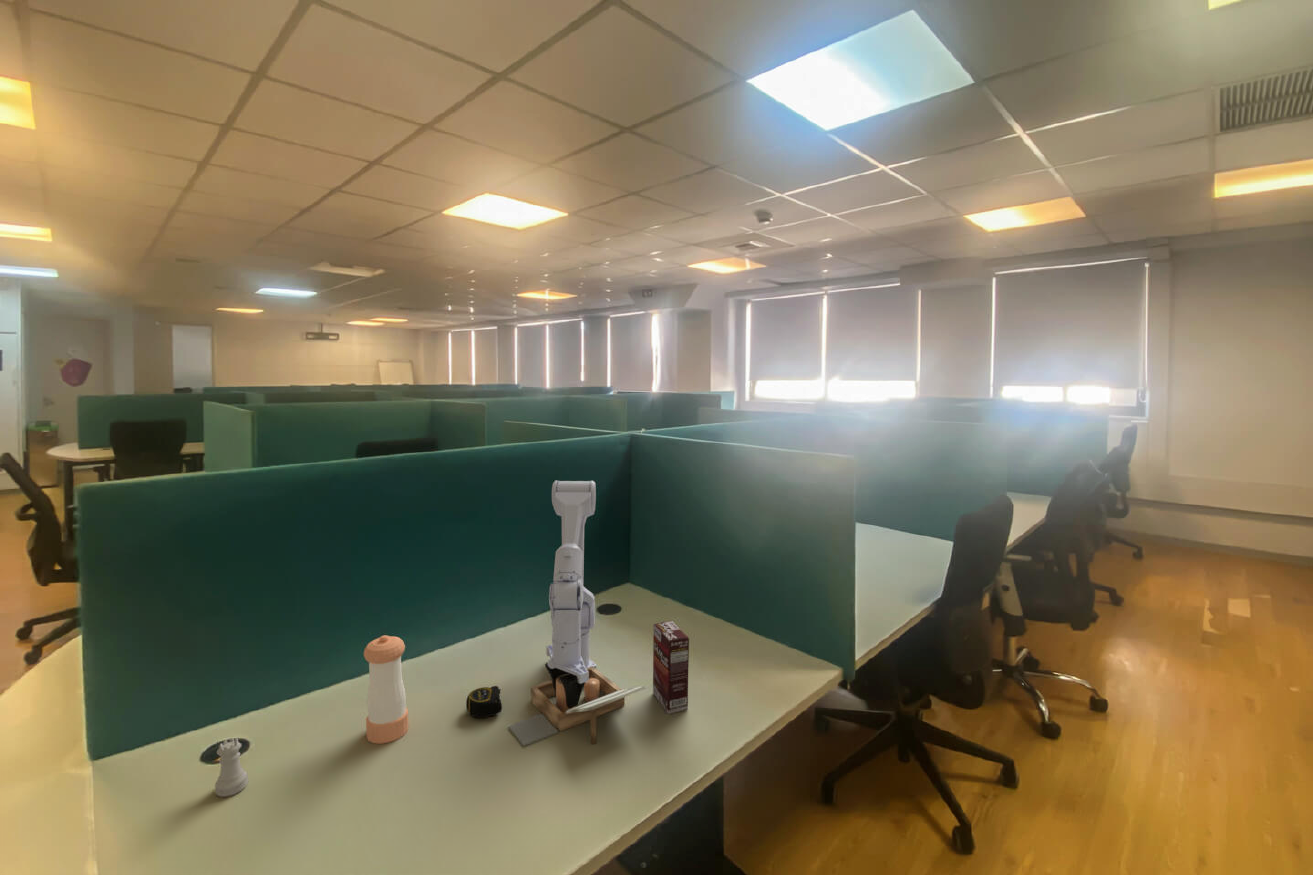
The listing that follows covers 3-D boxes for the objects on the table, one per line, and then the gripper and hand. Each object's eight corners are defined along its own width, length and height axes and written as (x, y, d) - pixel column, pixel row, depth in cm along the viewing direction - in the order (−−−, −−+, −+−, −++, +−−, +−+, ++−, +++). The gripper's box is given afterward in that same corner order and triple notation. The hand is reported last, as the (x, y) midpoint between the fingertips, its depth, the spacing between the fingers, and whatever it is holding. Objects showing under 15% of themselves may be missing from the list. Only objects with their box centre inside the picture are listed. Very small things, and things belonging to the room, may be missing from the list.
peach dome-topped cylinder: (552, 705, 118) (552, 677, 118) (571, 698, 121) (571, 671, 120) (562, 715, 115) (562, 686, 114) (581, 708, 117) (581, 680, 117)
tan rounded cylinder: (581, 696, 122) (581, 681, 121) (594, 691, 124) (594, 676, 123) (589, 703, 119) (589, 687, 119) (602, 698, 121) (602, 683, 121)
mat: (508, 727, 111) (508, 725, 111) (541, 715, 115) (541, 713, 115) (523, 746, 105) (523, 744, 105) (557, 732, 109) (557, 730, 109)
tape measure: (502, 718, 114) (502, 700, 114) (466, 724, 112) (465, 706, 111) (500, 699, 120) (500, 682, 120) (466, 704, 118) (466, 687, 118)
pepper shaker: (416, 723, 111) (413, 630, 109) (390, 747, 104) (386, 647, 102) (385, 717, 113) (382, 625, 111) (357, 739, 106) (353, 642, 104)
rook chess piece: (244, 775, 97) (240, 731, 96) (252, 787, 94) (249, 742, 93) (211, 789, 93) (207, 744, 92) (219, 802, 91) (215, 755, 90)
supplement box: (651, 693, 123) (652, 623, 122) (671, 688, 125) (673, 619, 124) (667, 715, 115) (668, 640, 114) (688, 710, 117) (690, 636, 116)
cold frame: (530, 700, 120) (530, 660, 119) (592, 678, 129) (592, 640, 128) (584, 757, 102) (584, 710, 101) (651, 727, 111) (651, 683, 110)
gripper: (532, 630, 119) (533, 691, 121) (566, 657, 108) (566, 724, 109) (562, 621, 124) (563, 680, 125) (598, 647, 112) (597, 712, 114)
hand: (566, 700), depth 118 cm, fingers closed on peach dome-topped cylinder, 4 cm apart
